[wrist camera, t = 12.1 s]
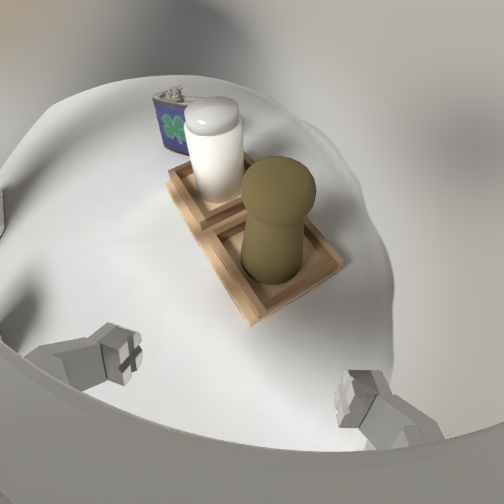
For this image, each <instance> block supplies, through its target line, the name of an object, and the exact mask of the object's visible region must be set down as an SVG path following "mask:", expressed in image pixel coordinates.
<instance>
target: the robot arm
mask: <svg viewBox="0 0 504 504" xmlns="http://www.w3.org/2000/svg"><path fill="white" fill-rule="evenodd" d="M4 228H5V226H4V211H3V190H2V189H0V236H1V235H2V233H3V231H4ZM141 342H142V340H141V334H140V333H139V332H137V331H134V330H131V329H128V328H125V327H122V326H119V325H116V324H113V323H106V324H105V325H104V326H102V327H101V328H100V329H98V330H97V331H96V332H95V333H93V334H92V335H91V336H90V337H88V338H85V337H84V338H79V339H74V340H69V341H64V342H58V343H53V344H47V345H42V346H38V347H37V348H36V349H34V350H33V351H31V352H30V353H29V354H27V355H26V356H25V357H22V356H21V355H20V354H18V353H17V352H15V351H14V350H13V349H11V348H10V347H9V346H7V345H6V344H5V343H3V342H2V341H1V340H0V504H504V422H502V423H499V424H496V425H494V426H491V427H488V428H485V429H482V430H479V431H476V432H472V433H469V434H465V435H462V436H458V437H454V438H450V439H446V440H445V438H444V436H443V434H442V432H441V430H440V428H439V426H438V424H437V422H436V421H434V420H433V419H431V418H430V417H428V416H427V415H425V414H424V413H422V412H421V411H419V410H418V409H416V408H415V407H413V406H412V405H410V404H409V403H407V402H406V401H404V400H403V399H401V398H400V397H399V396H397V395H392V392H391V390H390V388H389V386H388V384H387V381H386V379H385V377H384V375H383V373H382V371H380V370H347V369H345V370H344V372H343V374H342V377H341V379H342V383H341V384H340V385H338V387H337V389H336V392H335V398H334V405H335V408H336V409H337V410H338V413H337V415H336V416H337V422H338V428H359V430H360V431H361V432H362V433H363V434H364V436H365V437H366V438H367V439H368V440H369V441H370V442H371V443H372V444H373V445H374V446H375V448H376V449H377V450H372V451H353V452H314V451H296V450H284V449H274V448H266V447H258V446H252V445H245V444H239V443H234V442H228V441H223V440H218V439H214V438H209V437H205V436H201V435H197V434H193V433H189V432H185V431H182V430H178V429H175V428H172V427H168V426H165V425H162V424H159V423H156V422H153V421H150V420H147V419H144V418H141V417H139V416H136V415H133V414H131V413H128V412H126V411H123V410H121V409H118V408H116V407H114V406H111V405H109V404H107V403H104V402H102V401H100V400H98V399H96V398H94V397H91V396H89V395H87V394H85V393H83V392H82V391H84V390H86V389H89V388H91V387H93V386H96V385H98V384H100V383H103V382H105V381H107V380H109V381H112V382H115V383H117V384H120V385H123V386H125V385H126V384H127V382H128V381H129V380H130V379H131V377H132V373H131V372H134V371H137V370H138V368H139V367H140V365H141V362H142V357H143V352H142V349H141V348H140V346H139V344H140V343H141Z"/></svg>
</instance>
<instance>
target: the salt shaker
mask: <svg viewBox="0 0 504 504" xmlns="http://www.w3.org/2000/svg"><path fill="white" fill-rule="evenodd" d="M184 114H185V120H186V122H185V124H184V131H185V136H186V141H187V146H188V151H189V155H190V160H191V165H192V169H193V174H194V178H195V183H196V187H197V191H198V194H199V196H200V197H201V198H202V199H203V200H205V201H207V202H210V203H215V204H222V203H227V202H230V201H233V200H234V199H236V198H238V197H239V196H240V195H241V182H242V179H243V177H244V157H243V129H242V117H241V116H240V115H239V108H238V103H237V102H236V101H234V100H233V99H230V98H227V97H207V98H203V99H200V100H197V101H195V102H193V103H191V104H190V105H188V106H187V107H186V109H185V111H184Z"/></svg>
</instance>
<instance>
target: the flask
mask: <svg viewBox="0 0 504 504" xmlns="http://www.w3.org/2000/svg"><path fill="white" fill-rule="evenodd" d="M170 88H171V89H170ZM170 88H168V89H167V90H165V91H163V92H159V93H157V94H155V95H154V96H153V102H154V105H155V109H156V114H157V118H158V122H159V127H160V131H161V135H162V139H163V144H164V147H166V148H167V149H169V150H171V151H173V152H175V153H179V154H180V153H181V154H183V155H187V156H190V155H189V151H188V146H187V141H186V136H185V131H184V124H185V122H186V120H185V114H184V111H185V109H186V107H187V106H188V105H190V104H191V103H193V102H195V101H197V100H200V99H203V98H202V97H191V96H182V95H181V91H180V90H181V89H182V86H180V85H178V88H177V87H170Z"/></svg>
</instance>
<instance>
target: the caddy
mask: <svg viewBox="0 0 504 504" xmlns="http://www.w3.org/2000/svg"><path fill="white" fill-rule="evenodd" d="M243 157H244V174H245V172H246V171H247V170H248V168H249V167H250V166H251V165H253V164H254V163H255V162H254V161H253V160H252V159H251V158H250V157H249V156H248V155H247V154H246V153H245V152H244V151H243ZM168 172H169V176H170V179H171V181H168V182H166V186H167V189H168V192H169V194H170V195H171V197H172V199H173V201H174V202H175V204H176V206H177V208H178V209H179V211H180V213H181V215H182V216H183V218H184V220H185V222H186V223H187V225H188V227H189V228H190V230H191V232H192V234H193V235H194V237H195V239H196V240H197V242H198V244H199V245H200V247H201V249H202V250H203V252H204V254H205V255H206V257H207V259H208V260H209V262H210V264H211V265H212V267H213V269H214V270H215V272H216V274H217V275H218V277H219V278H220V280H221V282H222V283H223V285H224V287H225V288H226V290H227V291H228V293H229V295H230V296H231V298H232V299H233V301H234V303H235V304H236V306H237V307H238V309H239V310H240V312H241V313H242V315H243V317H244V318H245V320H246V321H247V323H248V324H249V326H252V325H253V324H255V323H257V322H259V321H260V320H262V319H264V318H265V317H267V316H269V315H270V314H272V313H274V312H275V311H277V310H278V309H280V308H282V307H283V306H285V305H287V304H288V303H290V302H291V301H293V300H295V299H296V298H298V297H299V296H301V295H302V294H304V293H306V292H307V291H309V290H310V289H312V288H313V287H315V286H316V285H318V284H319V283H321V282H322V281H324V280H325V279H327V278H329V277H330V276H332V275H333V274H334V273H336V272H337V271H339V270H340V269H341V268H342V266H343V264H344V260H343V259H342V257H341V256H340V255H339V254H338V253H337V251H336V250H335V249H334V248H333V247H332V246H331V244H330V243H329V242H328V241H327V240H326V239H325V237H324V236H323V235H322V234H321V233H320V232H319V231H318V229H317V228H316V227H315V226H314V225H313V224H312V223H311V222H310V220H309V219H308V218H307V217H305V218H304V237H303V259H302V264H301V268H300V270H299V272H298V273H297V275H296V276H295V277H294V278H292V279H291V280H290V281H288V282H286V283H283V284H280V285H265V284H261V283H258V282H256V281H255V280H253V279H252V278H250V277H249V276H248V275H247V274H246V272H245V271H244V270H243V267H242V264H241V248H242V242H243V236H244V230H245V225H246V219H247V213H248V212H247V210H246V208H245V205H244V203H243V201H242V198H241V195H240V196H239V197H238V198H236V199H234V200H233V201H230V202H227V203H222V204H215V203H210V202H207V201H205V200H203V199H202V198H201V197H200V196H199V194H198V191H197V187H196V183H195V178H194V174H193V169H192V165H191V161H189V162H187V163H184V164H182V165H180V166H177V167H175V168H173V169H171V170H168Z"/></svg>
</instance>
